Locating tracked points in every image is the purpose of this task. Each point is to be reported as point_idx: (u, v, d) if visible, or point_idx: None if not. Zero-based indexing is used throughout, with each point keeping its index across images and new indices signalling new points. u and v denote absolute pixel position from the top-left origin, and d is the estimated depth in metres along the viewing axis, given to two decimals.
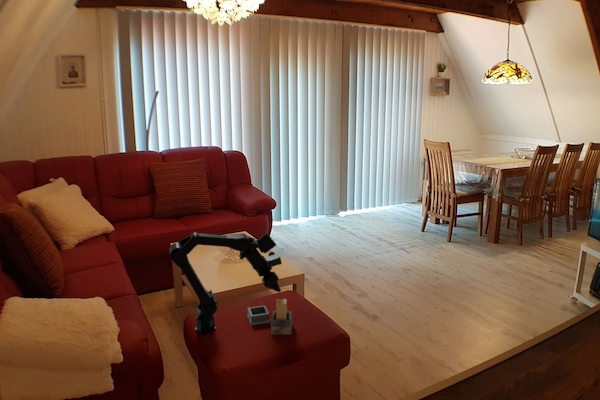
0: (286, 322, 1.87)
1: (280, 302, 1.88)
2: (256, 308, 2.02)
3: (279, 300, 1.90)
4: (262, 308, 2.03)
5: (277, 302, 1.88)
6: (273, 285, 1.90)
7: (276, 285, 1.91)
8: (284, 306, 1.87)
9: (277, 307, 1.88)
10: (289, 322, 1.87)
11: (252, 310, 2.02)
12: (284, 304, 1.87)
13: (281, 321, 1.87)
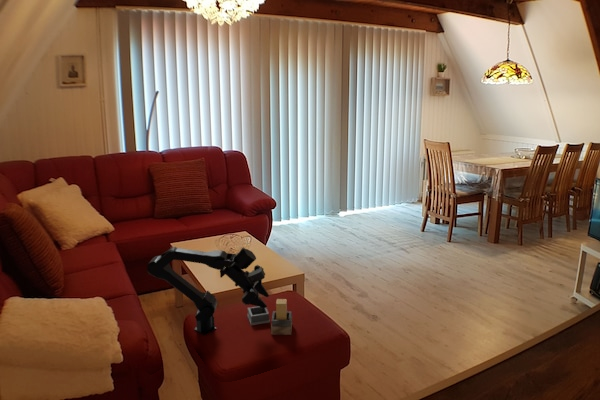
0: (286, 322, 1.87)
1: (280, 302, 1.88)
2: (256, 308, 2.02)
3: (279, 300, 1.90)
4: (262, 308, 2.03)
5: (277, 302, 1.88)
6: (256, 301, 1.83)
7: (259, 301, 1.83)
8: (284, 306, 1.87)
9: (277, 307, 1.88)
10: (289, 322, 1.87)
11: (252, 310, 2.02)
12: (284, 304, 1.87)
13: (281, 321, 1.87)
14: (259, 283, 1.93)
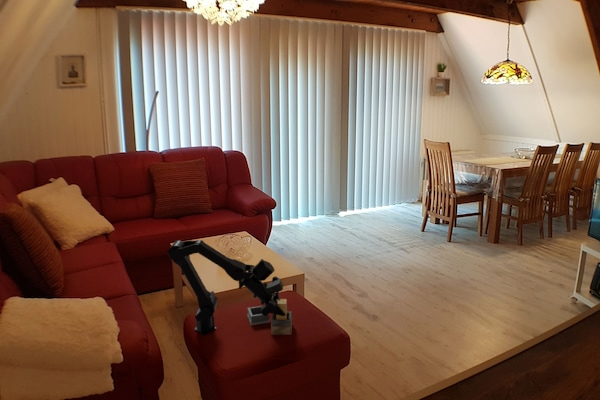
0: (286, 322, 1.87)
1: (280, 302, 1.88)
2: (256, 308, 2.02)
3: (279, 300, 1.90)
4: None
5: None
6: (275, 310, 1.86)
7: (278, 310, 1.86)
8: (284, 306, 1.87)
9: None
10: (289, 322, 1.87)
11: (252, 310, 2.02)
12: (284, 304, 1.87)
13: (281, 321, 1.87)
14: (276, 297, 1.91)
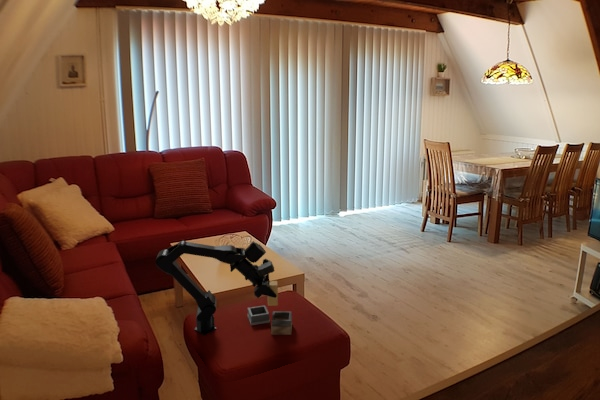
0: (286, 322, 1.87)
1: (271, 284, 1.90)
2: (256, 308, 2.02)
3: (270, 282, 1.92)
4: (262, 308, 2.03)
5: None
6: (267, 291, 1.88)
7: (270, 291, 1.88)
8: (276, 287, 1.90)
9: None
10: (289, 322, 1.87)
11: (252, 310, 2.02)
12: (275, 285, 1.89)
13: (281, 321, 1.87)
14: (267, 279, 1.93)
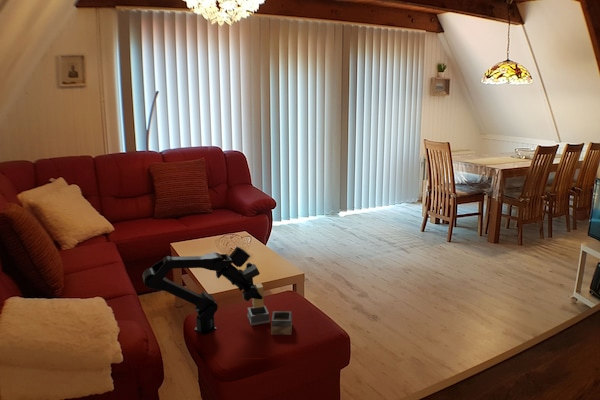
0: (286, 322, 1.87)
1: (257, 286, 1.95)
2: (256, 308, 2.02)
3: None
4: (262, 308, 2.03)
5: None
6: (253, 294, 1.93)
7: (256, 293, 1.93)
8: (261, 289, 1.95)
9: None
10: (289, 322, 1.87)
11: (252, 310, 2.02)
12: (261, 287, 1.95)
13: (281, 321, 1.87)
14: (251, 282, 1.98)
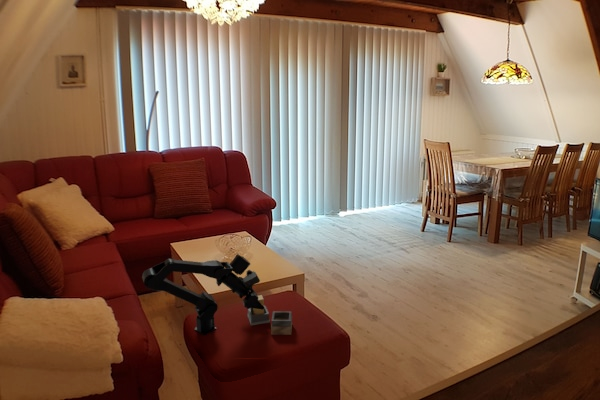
0: (286, 322, 1.87)
1: None
2: None
3: None
4: None
5: None
6: (255, 304, 1.92)
7: (258, 304, 1.92)
8: (262, 302, 1.96)
9: None
10: (289, 322, 1.87)
11: (252, 310, 2.02)
12: (262, 299, 1.96)
13: (281, 321, 1.87)
14: (250, 287, 2.01)
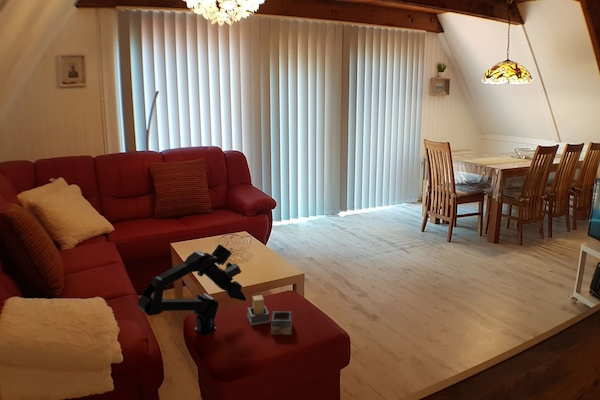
0: (286, 322, 1.87)
1: (257, 298, 1.97)
2: None
3: (255, 297, 1.98)
4: None
5: (254, 299, 1.96)
6: (238, 295, 1.89)
7: (240, 294, 1.90)
8: (262, 302, 1.96)
9: (255, 303, 1.96)
10: (289, 322, 1.87)
11: (252, 310, 2.02)
12: (262, 299, 1.96)
13: (281, 321, 1.87)
14: None
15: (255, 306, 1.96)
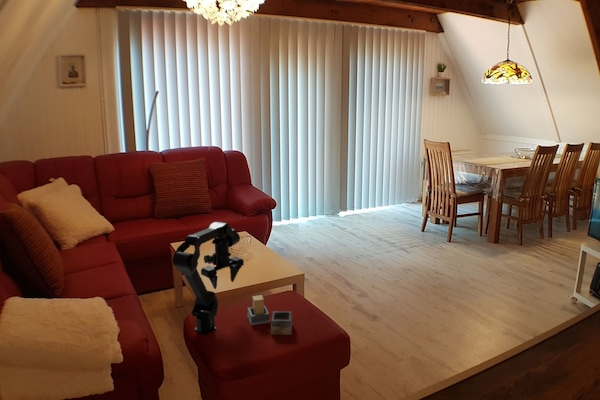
0: (286, 322, 1.87)
1: (257, 298, 1.97)
2: None
3: (255, 297, 1.98)
4: None
5: (254, 299, 1.96)
6: None
7: None
8: (262, 302, 1.96)
9: (255, 303, 1.96)
10: (289, 322, 1.87)
11: (252, 310, 2.02)
12: (262, 299, 1.96)
13: (281, 321, 1.87)
14: None
15: (255, 306, 1.96)
